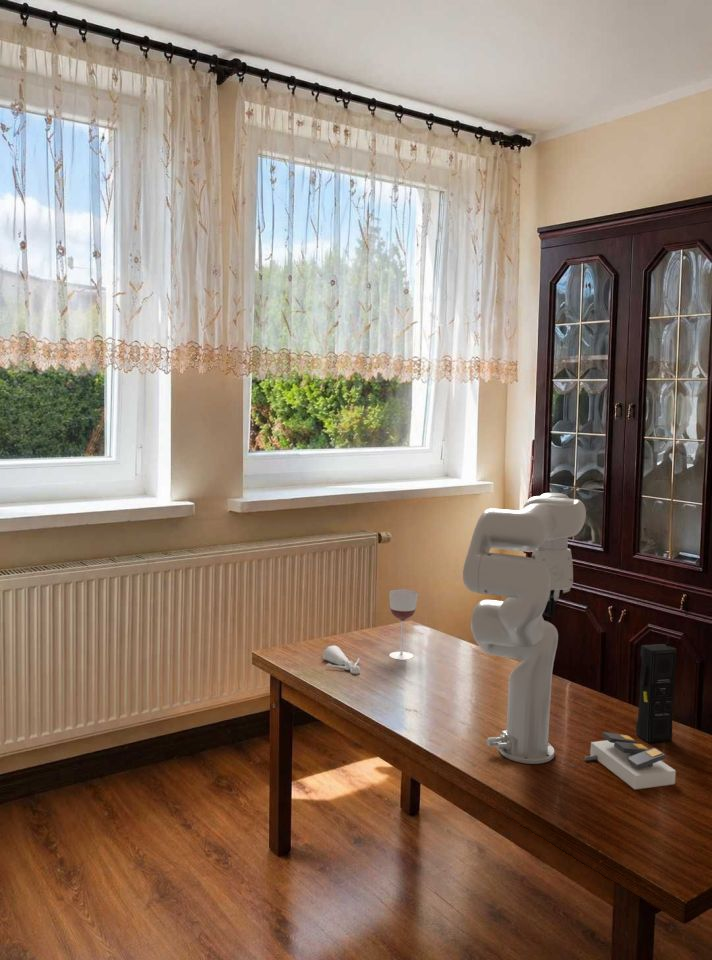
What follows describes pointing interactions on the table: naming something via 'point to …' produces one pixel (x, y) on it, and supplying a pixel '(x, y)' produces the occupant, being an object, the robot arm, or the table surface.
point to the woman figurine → (340, 659)
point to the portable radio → (656, 692)
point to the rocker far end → (646, 758)
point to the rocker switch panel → (631, 767)
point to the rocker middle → (630, 747)
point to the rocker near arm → (617, 738)
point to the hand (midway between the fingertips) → (548, 615)
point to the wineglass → (402, 614)
